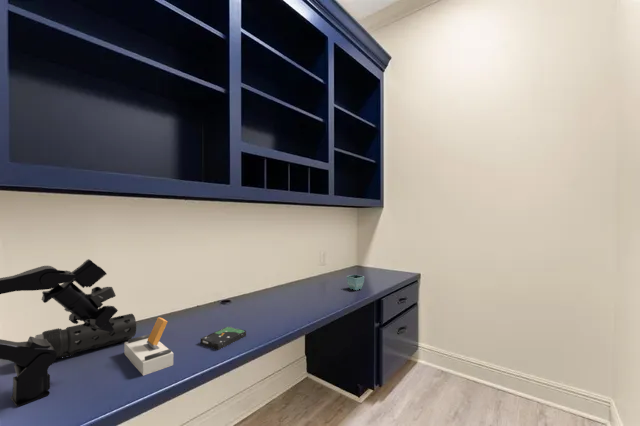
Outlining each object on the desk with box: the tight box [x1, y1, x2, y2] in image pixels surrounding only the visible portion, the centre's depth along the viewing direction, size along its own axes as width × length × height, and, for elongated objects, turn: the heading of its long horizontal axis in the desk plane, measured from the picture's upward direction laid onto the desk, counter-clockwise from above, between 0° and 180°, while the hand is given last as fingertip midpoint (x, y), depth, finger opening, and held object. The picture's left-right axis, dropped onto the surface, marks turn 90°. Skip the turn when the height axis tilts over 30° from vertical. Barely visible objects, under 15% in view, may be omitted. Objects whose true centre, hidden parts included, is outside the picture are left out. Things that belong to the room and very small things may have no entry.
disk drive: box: [200, 325, 247, 351], centre depth 119 cm, size 10×3×15 cm
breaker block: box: [123, 333, 174, 376], centre depth 102 cm, size 9×20×5 cm, turn 47°
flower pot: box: [346, 274, 365, 291], centre depth 200 cm, size 9×9×9 cm
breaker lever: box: [147, 317, 169, 349], centre depth 104 cm, size 2×6×9 cm, turn 48°
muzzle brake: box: [34, 313, 137, 359], centre depth 108 cm, size 10×28×10 cm, turn 139°
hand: (112, 330), depth 95 cm, fingers closed
